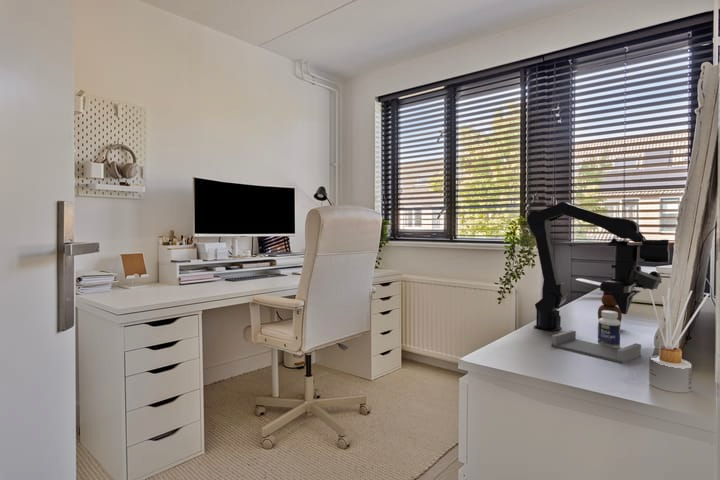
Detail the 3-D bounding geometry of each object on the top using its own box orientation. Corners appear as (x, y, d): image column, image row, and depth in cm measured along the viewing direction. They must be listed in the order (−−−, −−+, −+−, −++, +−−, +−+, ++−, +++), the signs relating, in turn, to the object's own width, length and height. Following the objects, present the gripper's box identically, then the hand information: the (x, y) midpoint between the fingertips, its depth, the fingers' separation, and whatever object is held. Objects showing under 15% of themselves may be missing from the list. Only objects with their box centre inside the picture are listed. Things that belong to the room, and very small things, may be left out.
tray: (551, 346, 114) (551, 335, 114) (571, 340, 120) (571, 330, 120) (622, 363, 99) (622, 351, 99) (640, 355, 106) (640, 344, 106)
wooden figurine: (594, 326, 139) (595, 282, 138) (605, 324, 141) (606, 281, 141) (613, 330, 133) (614, 285, 132) (624, 329, 135) (625, 284, 135)
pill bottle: (598, 346, 114) (599, 312, 113) (597, 342, 118) (597, 309, 118) (620, 349, 111) (621, 314, 111) (618, 344, 116) (619, 311, 116)
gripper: (644, 265, 108) (642, 323, 108) (670, 262, 119) (668, 315, 119) (600, 262, 117) (598, 315, 118) (627, 259, 128) (626, 308, 128)
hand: (624, 313), depth 120 cm, fingers closed
